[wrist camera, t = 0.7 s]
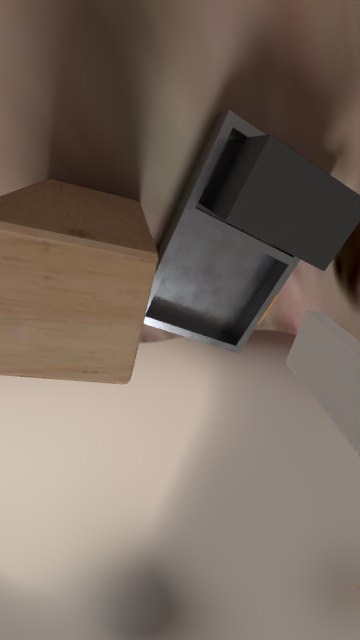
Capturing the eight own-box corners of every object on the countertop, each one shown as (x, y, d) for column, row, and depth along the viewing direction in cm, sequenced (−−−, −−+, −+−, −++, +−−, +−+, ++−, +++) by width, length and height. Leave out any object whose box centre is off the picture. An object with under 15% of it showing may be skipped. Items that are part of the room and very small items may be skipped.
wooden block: (47, 177, 30) (-50, 208, 13) (141, 201, 33) (161, 252, 16) (43, 266, 35) (-33, 375, 18) (126, 280, 37) (129, 387, 20)
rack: (133, 305, 39) (136, 353, 30) (217, 114, 30) (260, 97, 21) (232, 339, 45) (261, 387, 36) (328, 188, 36) (401, 200, 27)
